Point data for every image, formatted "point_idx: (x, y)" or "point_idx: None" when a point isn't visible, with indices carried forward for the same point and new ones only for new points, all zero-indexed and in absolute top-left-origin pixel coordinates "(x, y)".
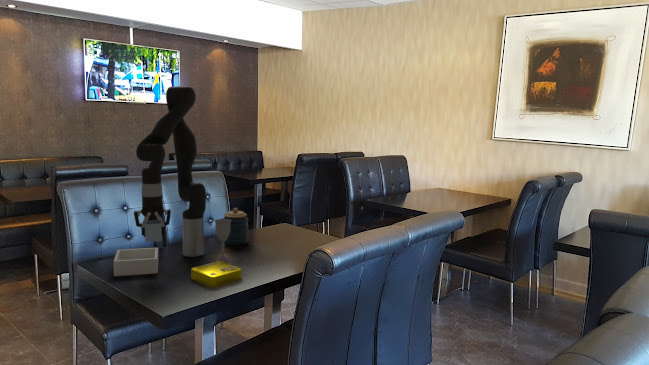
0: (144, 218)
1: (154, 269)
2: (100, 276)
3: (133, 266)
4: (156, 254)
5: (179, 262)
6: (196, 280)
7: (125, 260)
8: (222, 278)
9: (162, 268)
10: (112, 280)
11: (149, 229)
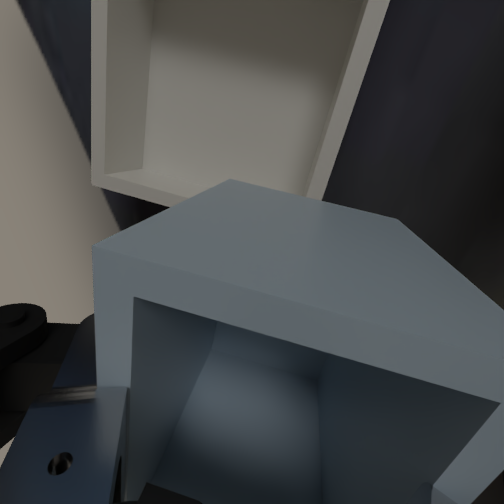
0: (25, 473)
1: None
2: (89, 150)
3: None
4: (329, 155)
5: (481, 92)
6: None
7: (147, 196)
8: None
9: (349, 163)
10: (134, 222)
11: (196, 470)
